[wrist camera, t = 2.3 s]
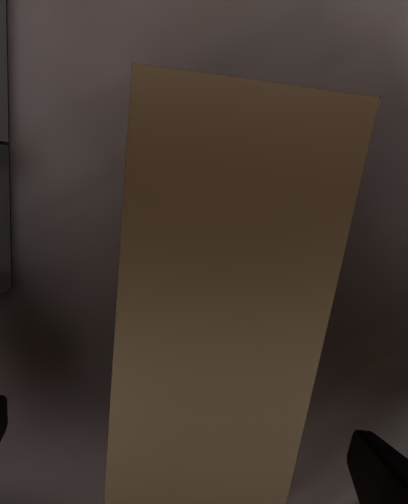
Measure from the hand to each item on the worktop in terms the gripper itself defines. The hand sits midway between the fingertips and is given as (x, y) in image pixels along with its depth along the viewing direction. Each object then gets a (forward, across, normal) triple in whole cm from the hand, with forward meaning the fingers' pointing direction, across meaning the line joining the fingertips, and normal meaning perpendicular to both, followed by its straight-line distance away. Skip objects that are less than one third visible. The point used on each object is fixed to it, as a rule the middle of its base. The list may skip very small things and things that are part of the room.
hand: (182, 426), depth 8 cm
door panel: (+4, 0, 0) cm, 4 cm away
